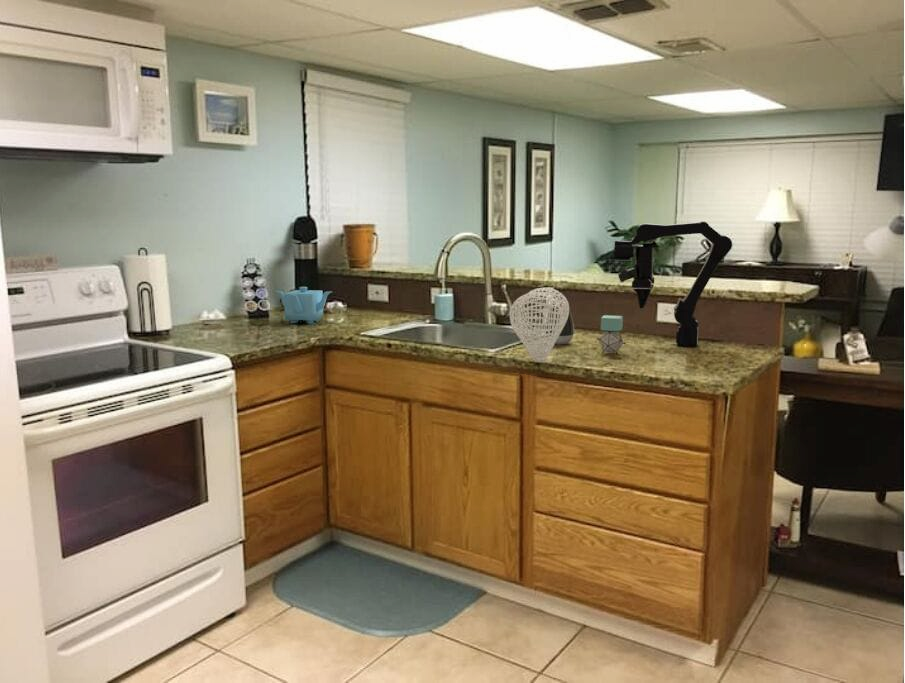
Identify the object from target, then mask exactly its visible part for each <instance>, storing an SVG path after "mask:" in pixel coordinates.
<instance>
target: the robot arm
mask: <svg viewBox="0 0 905 683" xmlns="http://www.w3.org/2000/svg"><path fill="white" fill-rule="evenodd" d="M635 232H636V235H634V237H632V238H631V241H630V240H622V241H621V240H614V248H613V261H616V262H617V261H620V262H621V261H623V262H629V261H631V259H633V258H635V264H634V265H633V268H630V269H627V268H623V269H621V270H620V272H618V273H617V275H618V279H619V280H620V283H623V282H625V281H629V280H631V279H633V281H632V282H631V289H632V290H633V291H634V292H635V293H636V294H637V300H638V305H639V309H644V307H645V306H646V304H647V301H648V299H649V297H650V294H651V292H652V290H653V287H654V284H655V277H654V275H653V271H654V270H653V268H654V262H653V261H654V248H657V249H658V248H659V247H660V246H659V244H658V243H657V242H656V239H659V238H662V237H671V236H682V235H683V236H684V235H685V236H686V235H694V234H695V235H696V234H701V236H703V237H704V238H706V239H707V240H708V241H709V242H710V243H711V245H710V248H709V252H708V255H707V258H706V261H705V262H704V265H703V266H702V268H701V270H700V271H699V273H698V275H697V277H696V279H695V280H694V282H693V284H692V286H691V287H690V289H689V291H688V293H687V295H686V296H685V297H684V298H683V299H682V298H681V297H679V298H678V300H677V303H676V305H675V306H673V316H674V319H675V321H676V322H677V323H678V324H680V326H678V330H677V331H676V336H675V337H676V338H675V339H676V340H675V343H676V346H678V347H689V348H690V347H694V348H697V347H698V346H699V342H698V341H699V340H698V338H699V327H698V326H699V322H698V319H696V318H695V317H694V313H695V310H696V307H697V303H698V301H699V299H700V297H701V295H702V293H703V291H704V290H705V288H706V286H707V285H708V284H709V281H710V280H711V278H712V275H713V274H714V272H715V270H716V268H717V267H718V265H719V264H720V263H721V261H723V259H724V258H725V257H726V256H727V255H728V253H729V252H730V251H731V250H732V248H733V241H732V239H731V238H730V237H729V236H727V235H722V234H720V233H719V232H718V231H716V230H715V229H714V228H712V227H711V226H710V225H709V223H708V222H706V221H698V222H686V223H675V224H665V225H664V224H657V223H641V224H640V225H639V226H638V227H637V228H636V231H635ZM647 241H652V242H647ZM641 242H642V245H638V244H640V243H641ZM634 255H635V257H634ZM697 345H698V346H697Z"/></svg>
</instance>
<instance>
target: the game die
mask: <svg viewBox="0 0 905 683" xmlns="http://www.w3.org/2000/svg"><path fill="white" fill-rule="evenodd" d="M621 330H622V329H621ZM621 330H620V331H608V330H604V331H603V333H602V335H601V336H600V337H597V338H596V340H599V344H600V346H601V349H602V351H601V354H604V352H606V353H616V355H617V354H618V355H619V350H620V349H621V347H622V346H623V345H627V343H626V342H624V341H623V338H622V335H621V333H620V332H621Z"/></svg>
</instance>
